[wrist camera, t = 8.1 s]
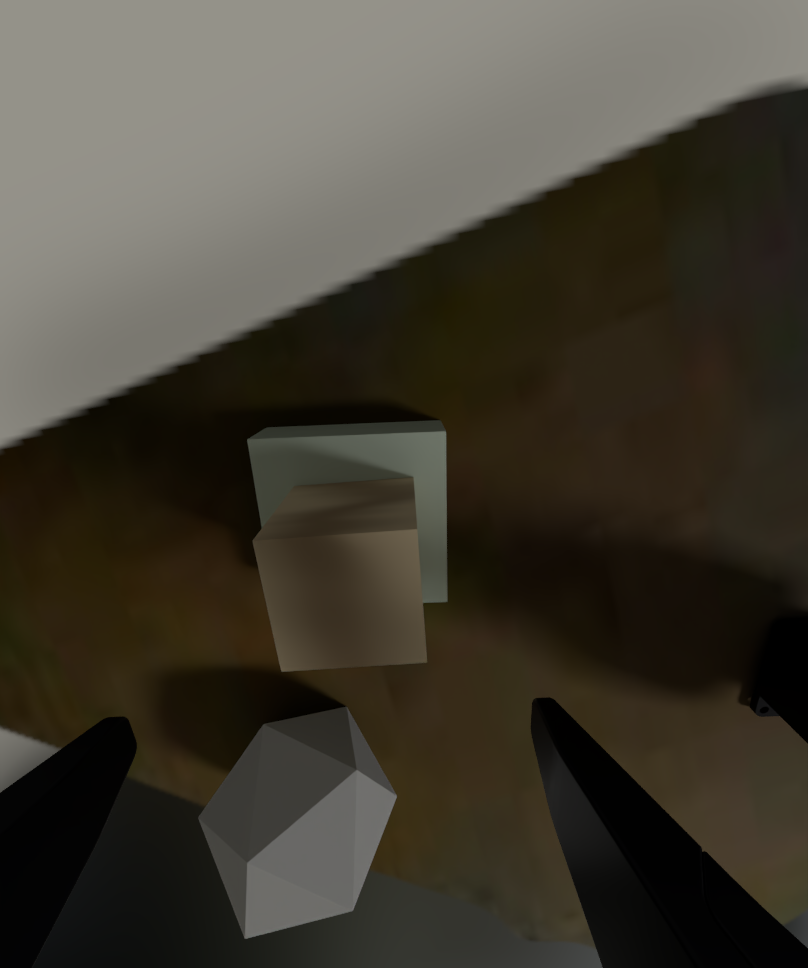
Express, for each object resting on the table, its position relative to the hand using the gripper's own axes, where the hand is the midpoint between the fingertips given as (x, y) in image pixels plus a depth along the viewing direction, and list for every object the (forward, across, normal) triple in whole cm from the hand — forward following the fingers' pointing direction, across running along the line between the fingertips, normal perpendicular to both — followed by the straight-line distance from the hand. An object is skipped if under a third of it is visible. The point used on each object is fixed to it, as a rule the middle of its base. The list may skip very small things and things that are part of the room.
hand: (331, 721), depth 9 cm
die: (+12, +4, +15) cm, 19 cm away
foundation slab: (+12, 0, 0) cm, 12 cm away
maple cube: (+9, 0, 0) cm, 9 cm away
